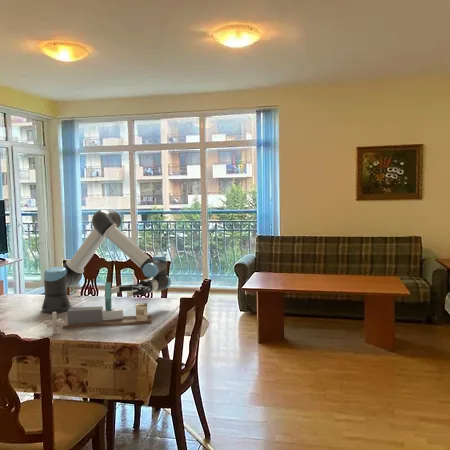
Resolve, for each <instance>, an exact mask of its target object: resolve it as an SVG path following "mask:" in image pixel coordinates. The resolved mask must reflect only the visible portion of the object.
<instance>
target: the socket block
mask: <svg viewBox="0 0 450 450" xmlns="http://www.w3.org/2000/svg"><path fill="white" fill-rule="evenodd" d="M147 315H148V303H147V302H141V303H136V304H135V316H136V321H147Z"/></svg>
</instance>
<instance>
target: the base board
mask: <svg viewBox="0 0 450 450" xmlns="http://www.w3.org/2000/svg"><path fill="white" fill-rule="evenodd" d="M65 322H66V324H65V325H62V329H76V328H79V327H80V328H93V327H94V328H95V327H113V326H115V327H116V326H130V325H131V326H132V325H133V326H134V325H135V326H136V325H151V324H152V314H147V321H136V315H127V316H124V315H123V318H117V319H103V321H102V322H99V323H80V324H68V318H67V319H66V320H65ZM80 328H79V329H80Z"/></svg>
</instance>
